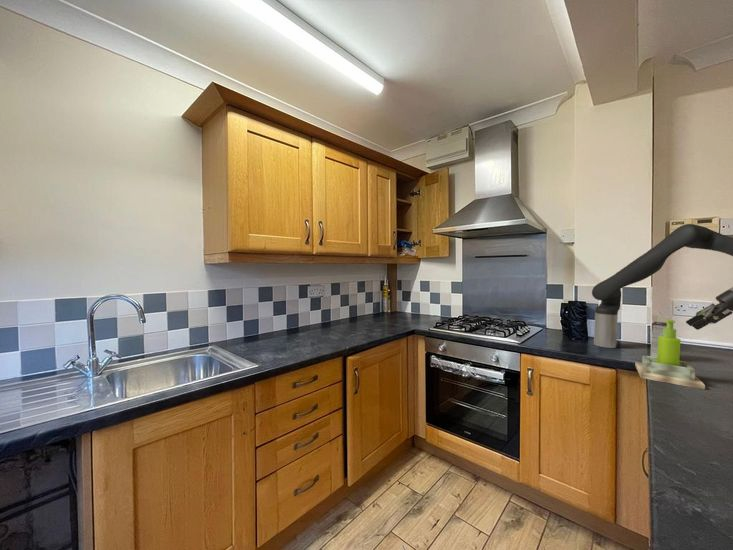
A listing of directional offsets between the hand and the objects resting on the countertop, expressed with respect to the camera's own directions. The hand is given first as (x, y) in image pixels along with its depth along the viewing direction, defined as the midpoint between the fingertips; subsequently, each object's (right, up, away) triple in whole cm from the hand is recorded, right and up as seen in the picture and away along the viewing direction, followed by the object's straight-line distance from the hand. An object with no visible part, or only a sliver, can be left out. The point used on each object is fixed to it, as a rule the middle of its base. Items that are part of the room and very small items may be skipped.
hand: (691, 325), depth 108 cm
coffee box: (+18, -20, +29) cm, 39 cm away
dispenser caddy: (-5, -20, +4) cm, 21 cm away
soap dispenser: (-4, -19, +4) cm, 20 cm away
